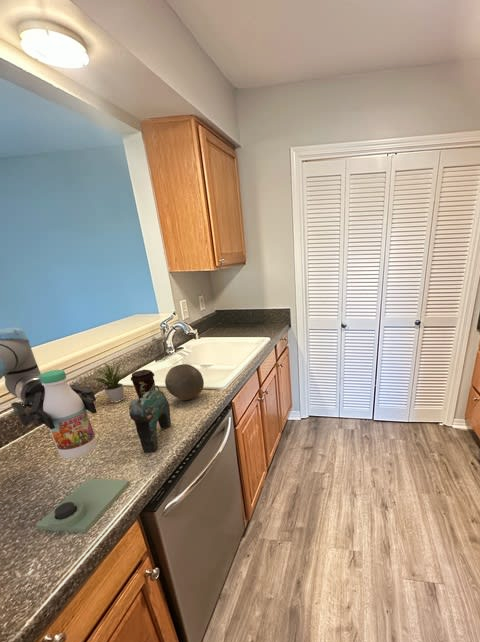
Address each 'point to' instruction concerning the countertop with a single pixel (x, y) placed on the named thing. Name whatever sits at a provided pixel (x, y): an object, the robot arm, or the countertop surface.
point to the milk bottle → (67, 416)
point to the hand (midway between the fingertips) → (73, 415)
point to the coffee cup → (143, 381)
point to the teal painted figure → (150, 417)
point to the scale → (86, 505)
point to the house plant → (111, 383)
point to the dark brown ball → (184, 382)
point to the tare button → (65, 510)
